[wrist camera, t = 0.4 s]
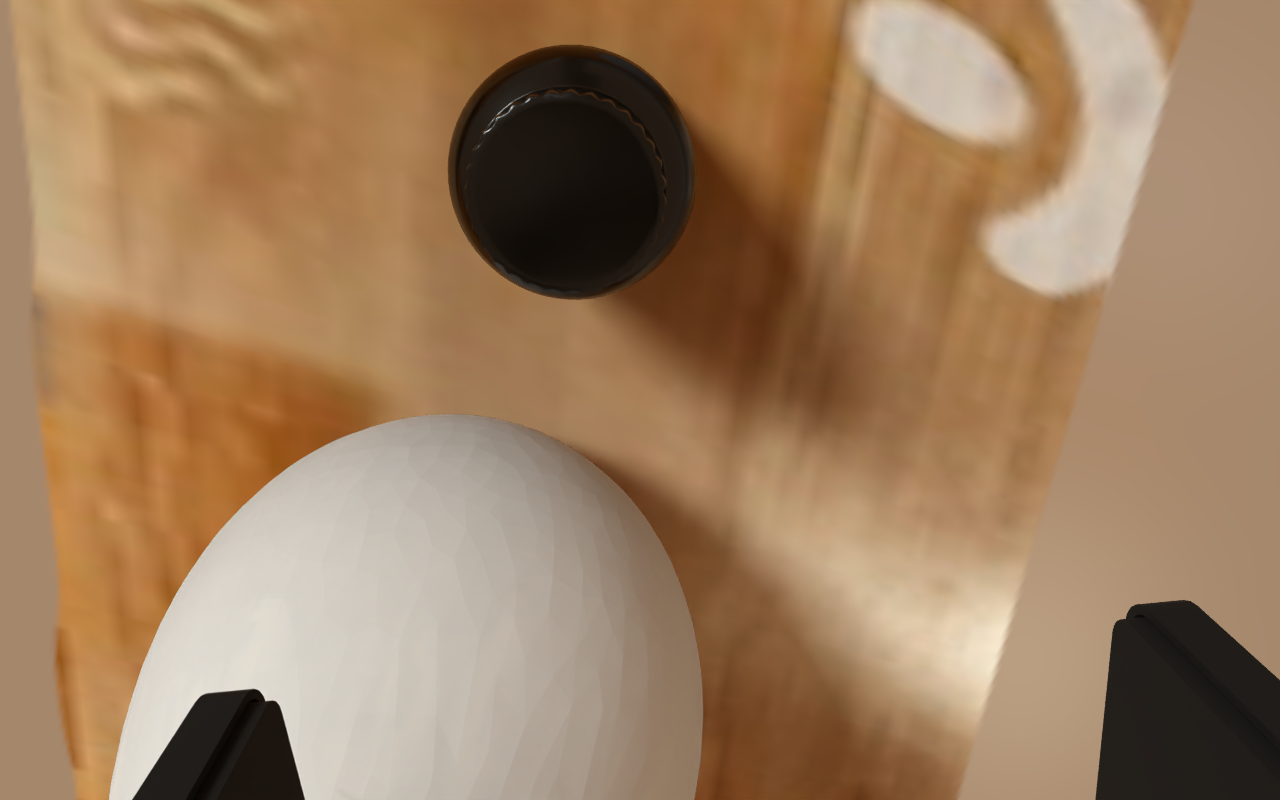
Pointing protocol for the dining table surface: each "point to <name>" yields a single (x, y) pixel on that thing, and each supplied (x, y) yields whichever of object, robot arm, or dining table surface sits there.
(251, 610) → the pitcher
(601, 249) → the supplement bottle
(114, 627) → the dining table surface
